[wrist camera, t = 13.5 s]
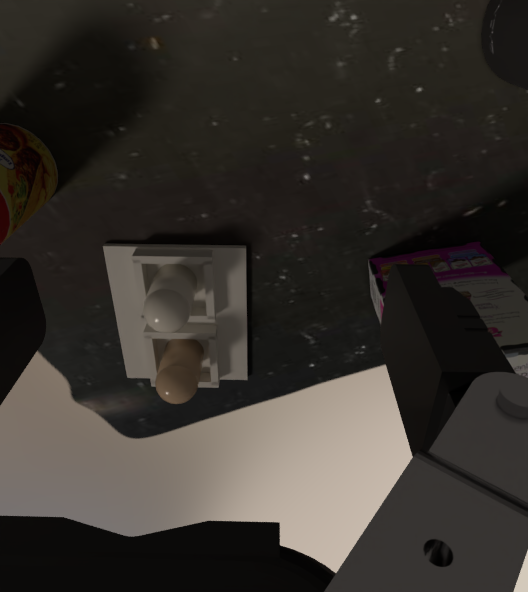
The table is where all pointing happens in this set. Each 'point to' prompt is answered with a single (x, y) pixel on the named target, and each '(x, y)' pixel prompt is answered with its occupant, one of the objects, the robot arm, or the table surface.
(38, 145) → the canned food
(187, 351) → the tan capsule
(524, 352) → the candy bar box
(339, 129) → the table surface
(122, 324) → the white holder tray
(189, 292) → the white capsule
